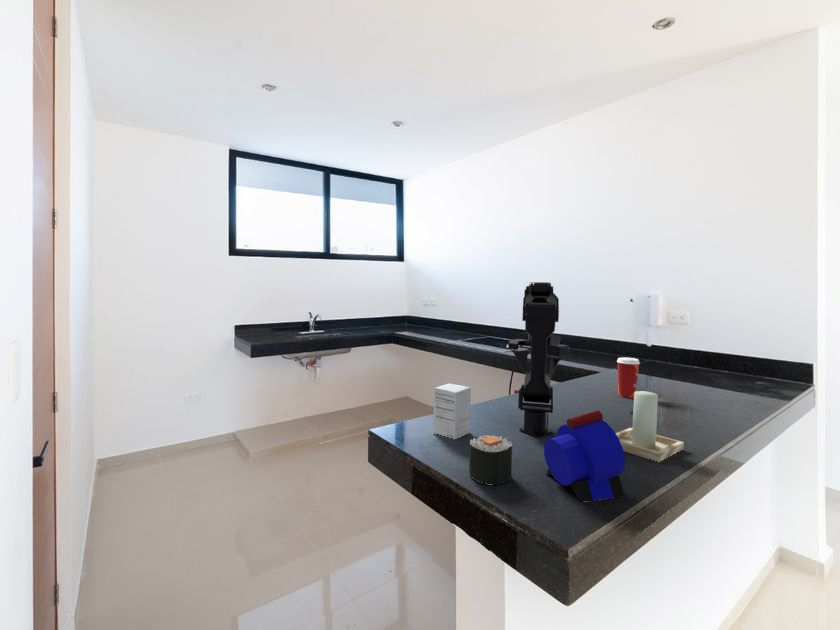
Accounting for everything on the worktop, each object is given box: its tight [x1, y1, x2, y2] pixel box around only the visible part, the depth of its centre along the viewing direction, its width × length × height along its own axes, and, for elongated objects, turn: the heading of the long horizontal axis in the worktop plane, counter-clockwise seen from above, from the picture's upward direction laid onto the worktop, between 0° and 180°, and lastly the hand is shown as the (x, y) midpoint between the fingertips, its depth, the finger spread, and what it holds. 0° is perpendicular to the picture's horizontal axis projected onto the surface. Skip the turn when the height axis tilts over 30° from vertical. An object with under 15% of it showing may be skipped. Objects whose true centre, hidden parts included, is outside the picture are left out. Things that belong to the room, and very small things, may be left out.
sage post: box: [632, 390, 659, 449], centre depth 103 cm, size 5×5×13 cm
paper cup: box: [616, 356, 641, 399], centre depth 154 cm, size 8×8×14 cm
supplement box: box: [433, 383, 472, 440], centre depth 111 cm, size 7×7×13 cm
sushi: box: [468, 434, 513, 485], centre depth 86 cm, size 8×8×8 cm
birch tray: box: [615, 426, 685, 463], centre depth 104 cm, size 13×13×2 cm
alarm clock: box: [543, 410, 626, 503], centre depth 83 cm, size 12×12×15 cm
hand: (536, 375), depth 125 cm, fingers open, 9 cm apart
